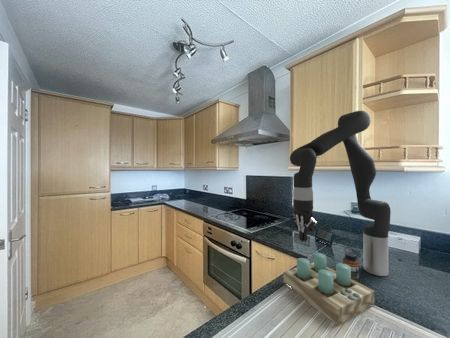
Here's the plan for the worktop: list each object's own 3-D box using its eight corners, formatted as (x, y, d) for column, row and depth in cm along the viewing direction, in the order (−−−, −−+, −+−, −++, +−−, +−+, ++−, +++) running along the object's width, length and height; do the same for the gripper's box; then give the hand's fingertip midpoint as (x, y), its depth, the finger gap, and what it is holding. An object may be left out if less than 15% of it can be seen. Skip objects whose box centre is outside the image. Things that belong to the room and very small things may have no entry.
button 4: (341, 276, 77) (341, 262, 77) (353, 283, 72) (353, 267, 72) (333, 280, 75) (333, 264, 75) (345, 287, 70) (345, 270, 70)
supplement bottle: (344, 274, 88) (343, 249, 88) (359, 279, 84) (359, 253, 84) (341, 280, 83) (341, 254, 83) (358, 285, 79) (358, 258, 79)
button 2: (319, 265, 86) (319, 252, 86) (329, 270, 81) (329, 256, 81) (311, 268, 84) (311, 254, 84) (321, 273, 79) (321, 259, 79)
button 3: (324, 283, 72) (324, 268, 72) (336, 291, 68) (336, 274, 68) (315, 287, 70) (315, 271, 70) (327, 295, 66) (327, 278, 66)
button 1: (302, 271, 81) (302, 257, 81) (312, 276, 77) (312, 262, 77) (294, 273, 79) (294, 259, 79) (303, 280, 75) (303, 264, 75)
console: (316, 271, 90) (316, 260, 90) (374, 304, 68) (374, 289, 68) (283, 283, 81) (283, 271, 81) (338, 325, 60) (338, 308, 60)
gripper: (323, 199, 73) (324, 245, 74) (297, 195, 85) (297, 234, 86) (309, 201, 70) (310, 248, 70) (284, 196, 82) (284, 237, 82)
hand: (303, 240), depth 78 cm, fingers closed
